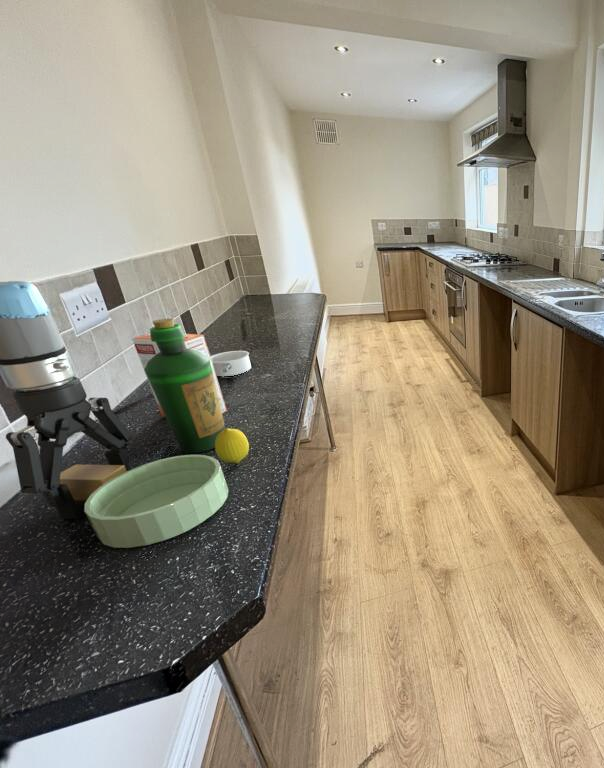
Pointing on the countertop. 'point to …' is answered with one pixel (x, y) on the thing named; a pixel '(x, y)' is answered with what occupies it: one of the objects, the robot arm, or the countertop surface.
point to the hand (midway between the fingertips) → (101, 498)
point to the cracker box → (191, 341)
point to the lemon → (231, 445)
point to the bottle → (184, 389)
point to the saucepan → (231, 363)
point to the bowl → (156, 501)
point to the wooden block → (88, 479)
